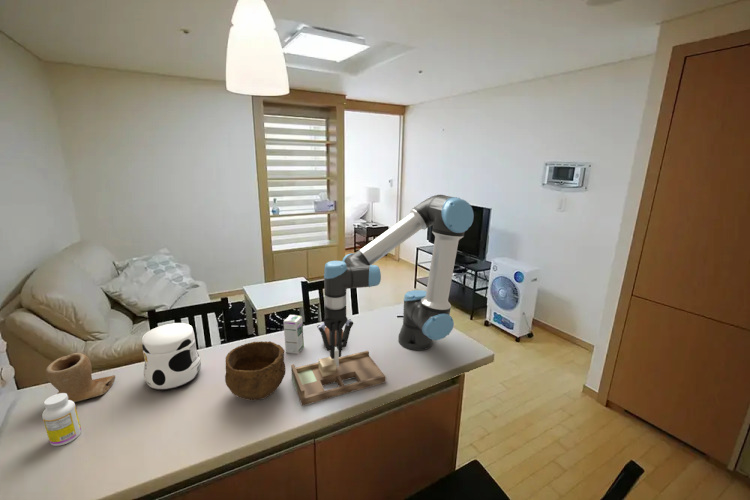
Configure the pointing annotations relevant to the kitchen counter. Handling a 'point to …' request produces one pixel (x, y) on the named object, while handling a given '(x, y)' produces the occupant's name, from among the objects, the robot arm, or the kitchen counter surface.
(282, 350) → the bowl
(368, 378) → the board
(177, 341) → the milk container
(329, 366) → the maple block
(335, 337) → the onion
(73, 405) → the supplement bottle
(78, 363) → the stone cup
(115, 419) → the kitchen counter surface
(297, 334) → the syrup box
